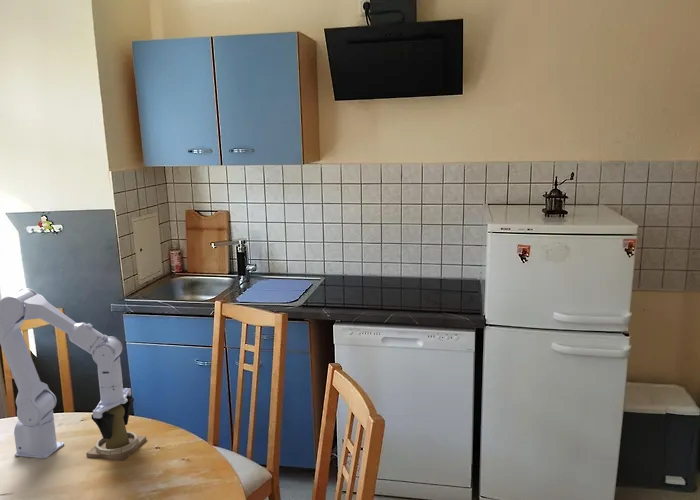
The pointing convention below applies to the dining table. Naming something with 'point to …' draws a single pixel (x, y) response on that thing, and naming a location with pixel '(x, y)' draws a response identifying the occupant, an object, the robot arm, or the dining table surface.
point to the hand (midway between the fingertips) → (115, 431)
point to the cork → (117, 429)
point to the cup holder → (117, 453)
